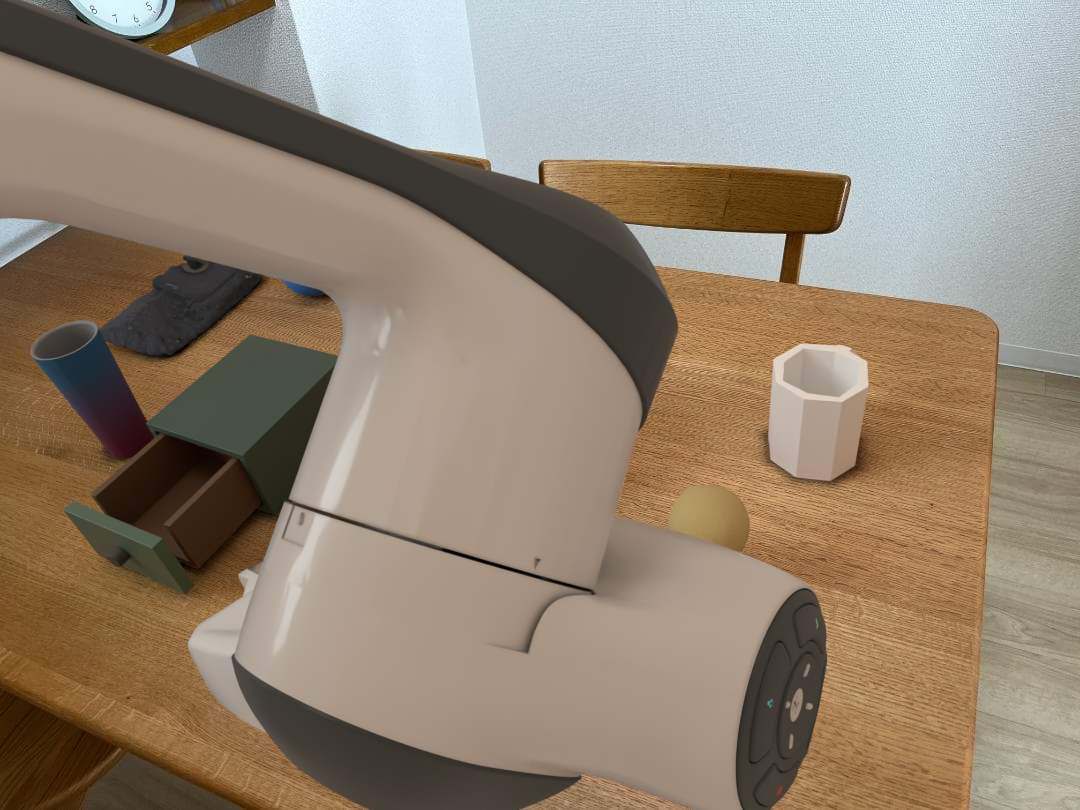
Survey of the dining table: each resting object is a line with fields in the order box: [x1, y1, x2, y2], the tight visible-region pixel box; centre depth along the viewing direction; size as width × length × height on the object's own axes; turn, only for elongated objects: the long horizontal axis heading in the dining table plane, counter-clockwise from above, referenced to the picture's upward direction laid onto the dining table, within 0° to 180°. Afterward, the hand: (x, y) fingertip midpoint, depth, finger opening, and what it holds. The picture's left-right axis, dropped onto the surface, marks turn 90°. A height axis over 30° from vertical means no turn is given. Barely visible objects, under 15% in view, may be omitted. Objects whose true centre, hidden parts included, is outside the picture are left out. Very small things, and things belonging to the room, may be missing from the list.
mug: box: [767, 343, 869, 482], centre depth 76 cm, size 12×9×10 cm
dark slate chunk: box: [99, 255, 262, 357], centre depth 113 cm, size 15×22×5 cm
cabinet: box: [146, 333, 339, 516], centre depth 86 cm, size 16×14×9 cm
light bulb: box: [667, 484, 751, 553], centre depth 66 cm, size 6×6×10 cm
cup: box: [29, 319, 154, 459], centre depth 89 cm, size 7×7×15 cm
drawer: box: [62, 433, 263, 595], centre depth 79 cm, size 16×12×7 cm
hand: (327, 532), depth 46 cm, fingers open, 8 cm apart
